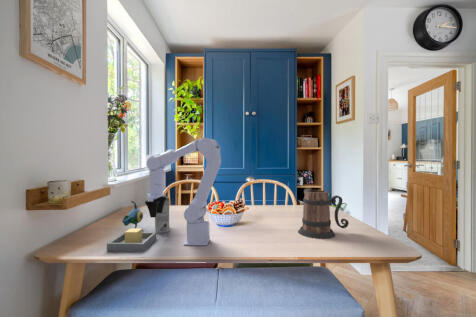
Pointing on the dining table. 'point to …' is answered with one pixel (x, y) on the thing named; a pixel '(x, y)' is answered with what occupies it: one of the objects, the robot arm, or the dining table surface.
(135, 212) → the blue bird figurine
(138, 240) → the mustard block
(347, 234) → the dining table surface
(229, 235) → the dining table surface
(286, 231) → the dining table surface
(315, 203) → the tankard
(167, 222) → the coffee box
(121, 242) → the tray
